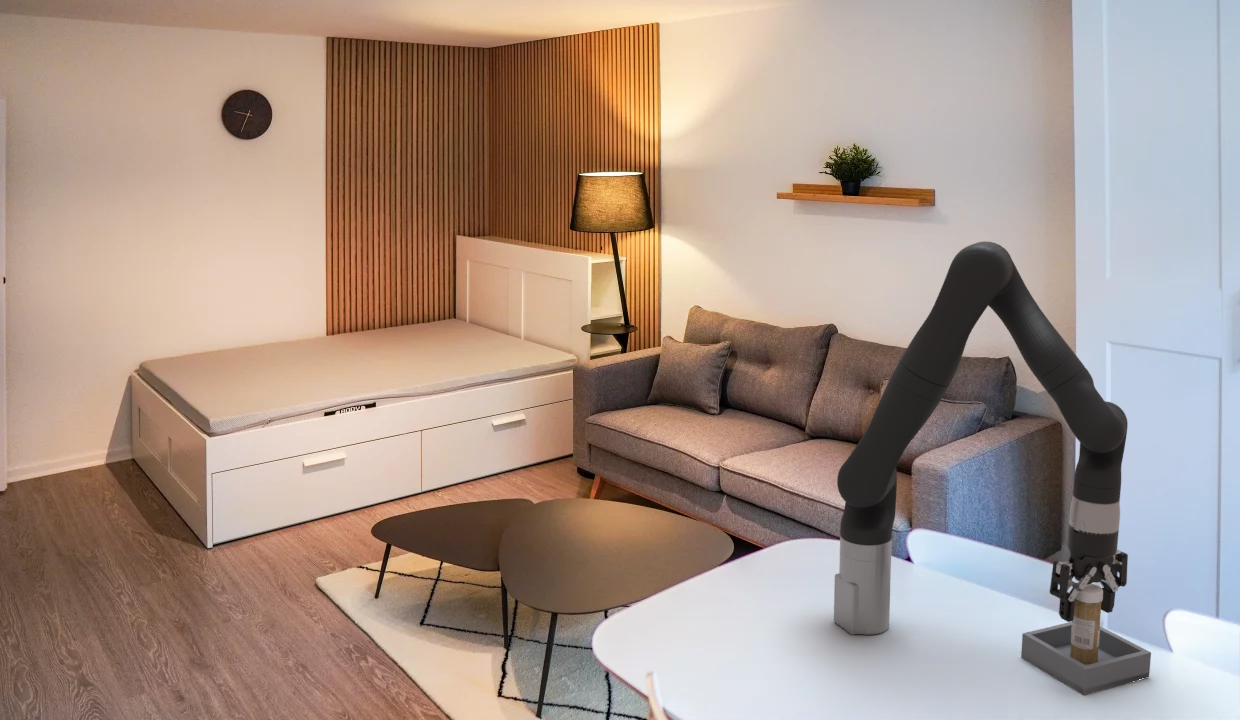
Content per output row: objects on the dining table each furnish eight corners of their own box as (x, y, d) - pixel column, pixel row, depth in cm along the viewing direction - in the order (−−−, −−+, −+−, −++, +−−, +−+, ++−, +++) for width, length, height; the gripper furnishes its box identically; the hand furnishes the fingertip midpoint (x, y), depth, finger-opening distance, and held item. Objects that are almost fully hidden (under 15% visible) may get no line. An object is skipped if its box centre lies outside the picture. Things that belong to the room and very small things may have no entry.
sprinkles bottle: (1103, 663, 177) (1109, 588, 174) (1087, 671, 174) (1092, 595, 172) (1078, 653, 181) (1083, 579, 178) (1062, 660, 178) (1067, 585, 176)
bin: (1083, 695, 169) (1085, 669, 168) (1021, 657, 182) (1022, 633, 181) (1149, 677, 174) (1151, 652, 173) (1083, 642, 187) (1085, 618, 186)
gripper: (1108, 510, 179) (1100, 599, 182) (1043, 522, 174) (1036, 613, 177) (1145, 524, 172) (1136, 617, 175) (1078, 537, 167) (1070, 632, 170)
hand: (1086, 615), depth 176 cm, fingers open, 8 cm apart
